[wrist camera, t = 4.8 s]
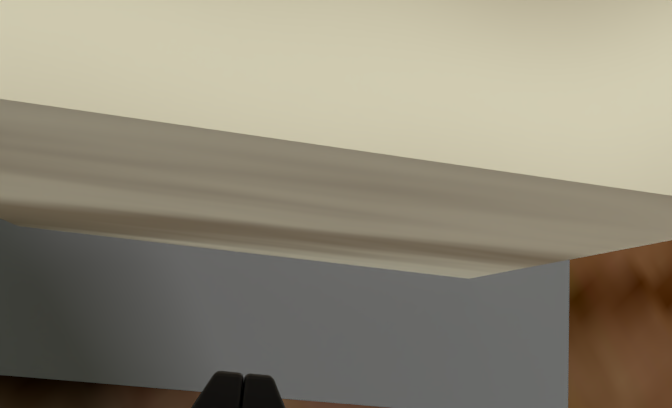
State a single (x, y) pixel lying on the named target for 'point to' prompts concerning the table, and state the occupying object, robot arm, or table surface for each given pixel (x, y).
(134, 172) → the birch block
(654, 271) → the table surface
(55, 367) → the rubber mat
